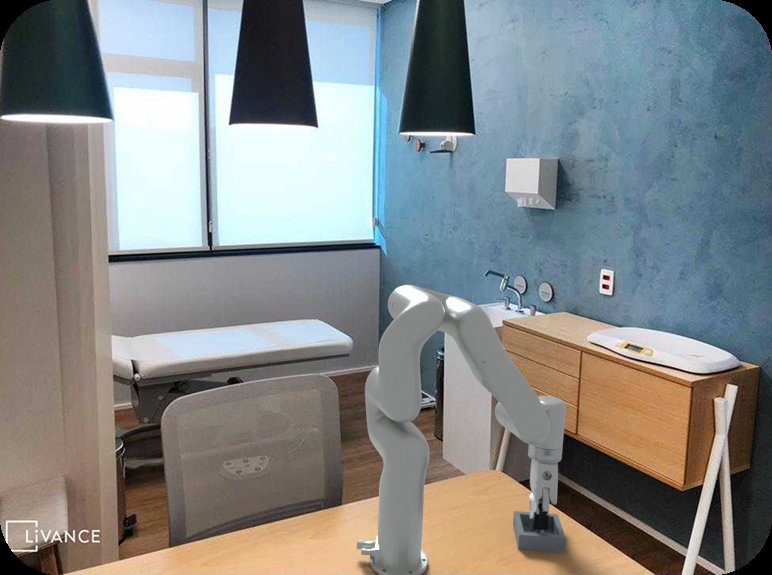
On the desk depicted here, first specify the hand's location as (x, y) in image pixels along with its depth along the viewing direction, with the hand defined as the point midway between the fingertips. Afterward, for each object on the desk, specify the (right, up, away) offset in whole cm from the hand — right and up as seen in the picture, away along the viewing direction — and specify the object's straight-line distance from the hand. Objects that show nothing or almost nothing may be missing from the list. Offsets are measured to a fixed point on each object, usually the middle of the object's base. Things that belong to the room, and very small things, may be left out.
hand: (538, 522), depth 153 cm
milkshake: (0, -2, 0) cm, 2 cm away
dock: (0, -4, +1) cm, 4 cm away
